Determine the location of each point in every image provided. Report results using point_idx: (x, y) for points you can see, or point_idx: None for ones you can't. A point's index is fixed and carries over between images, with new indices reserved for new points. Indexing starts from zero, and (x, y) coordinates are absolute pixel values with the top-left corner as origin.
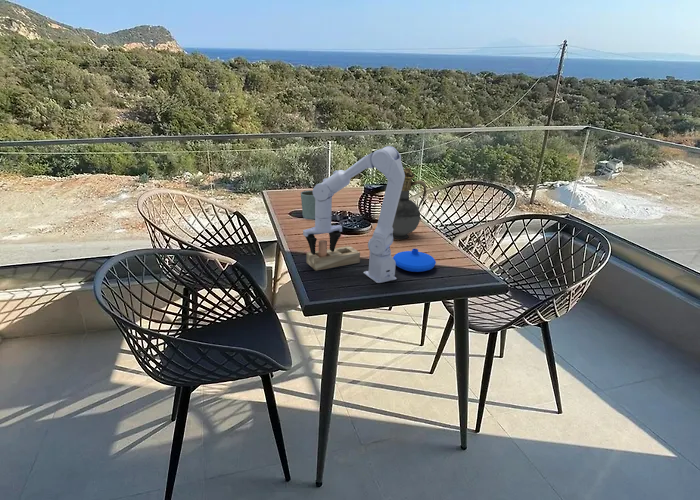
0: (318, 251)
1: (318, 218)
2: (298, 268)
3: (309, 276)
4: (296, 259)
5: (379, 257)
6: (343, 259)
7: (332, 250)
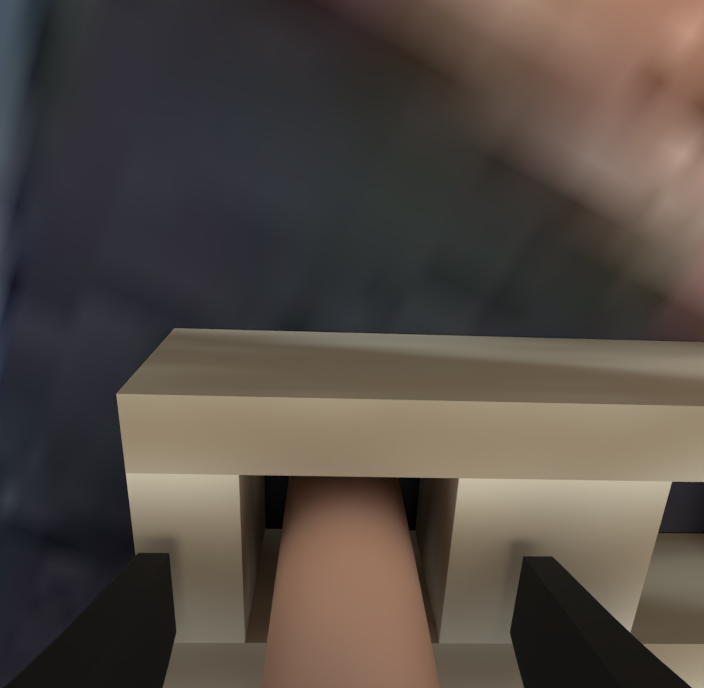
0: (348, 434)
1: None
2: (10, 446)
3: None
4: (68, 143)
5: None
6: None
7: (517, 654)
